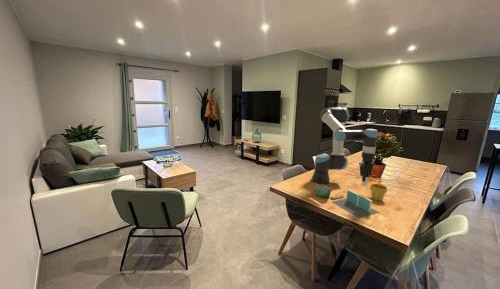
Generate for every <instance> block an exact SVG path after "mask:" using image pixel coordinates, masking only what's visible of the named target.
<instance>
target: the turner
mask: <svg viewBox="0 0 500 289" xmlns="http://www.w3.org/2000/svg"><path fill="white" fill-rule="evenodd" d="M344 197H345V195H342V194H335V195H330V197H329V199H331V200H334V201H335V200H340V199H344Z"/></svg>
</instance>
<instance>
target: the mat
mask: <svg viewBox="0 0 500 289" xmlns="http://www.w3.org/2000/svg"><path fill="white" fill-rule="evenodd" d="M346 199H347V197H346V198H341V199H337V200H334V201H331V203H332V204H333V205H335V206H337V207H339V208H341V209H342V210H344V211H346V212H347V213H349V214H351V215H353V216H354V217H356V218H358V219H361V218H362V219H363V218H365V217H369V216H372V215H375V214H379V213H380V211H378V210H375V209H374V208H372V207H371V211H370V212H369V213H368V212H367V211H365V210H363V209H361V208H359V207H358V206H355V205H354V204H352V203H350V202H348V201H346Z"/></svg>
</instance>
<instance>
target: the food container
mask: <svg viewBox="0 0 500 289" xmlns="http://www.w3.org/2000/svg"><path fill="white" fill-rule="evenodd" d="M314 187H315V196H316V197H317V198H320V199H330V197H331V192H332V190H333V187H332V186H327V185H326V184H320V183H317V182H315V185H314Z"/></svg>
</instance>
